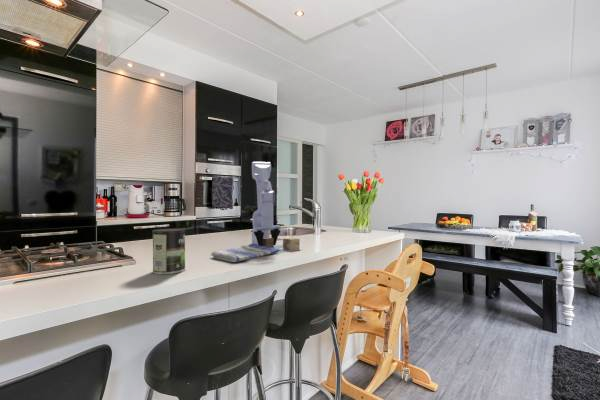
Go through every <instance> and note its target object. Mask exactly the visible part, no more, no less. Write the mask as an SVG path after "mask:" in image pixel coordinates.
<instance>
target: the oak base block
mask: <svg viewBox="0 0 600 400" xmlns="http://www.w3.org/2000/svg"><path fill="white" fill-rule="evenodd" d="M300 241H301V240H300V237H293V236H292V237H283V238H282V245H283V249H286V250H290V251H289V252H292V251H291V250H295V251H298V250H297V249H301V247H300V245H301V244H300Z"/></svg>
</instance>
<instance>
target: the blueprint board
mask: <svg viewBox="0 0 600 400" xmlns="http://www.w3.org/2000/svg"><path fill="white" fill-rule="evenodd" d="M274 248H275V249H278V250H279V251H278V252H276V253H275V254H282V253H289V252H294V251H301V250H303V248H300V249H297V250H291V251H290V250H286V249H283V244H280V245H274Z"/></svg>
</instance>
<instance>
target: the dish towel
mask: <svg viewBox="0 0 600 400" xmlns="http://www.w3.org/2000/svg"><path fill="white" fill-rule="evenodd" d="M278 251H279V250H278V249H275V248H272V247H266V246H259V245H256V244H253V243H251V244H247V245H241V246H240V247H235V248H229V249H224V250H220V251H216V250H214V251H213V252H211V253H210V256H212V257H213V259H218V260H221V261H226V262H230V263H231V262H232V263H238V262H241V261H246V260H251V259H256V258H260V257H265V256H268V255H269V256H270V255H271V254H272V255H273V254H277V253H276V252H278Z"/></svg>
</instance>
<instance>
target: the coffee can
mask: <svg viewBox="0 0 600 400" xmlns="http://www.w3.org/2000/svg"><path fill="white" fill-rule="evenodd" d="M151 232H152V274H154V275H172V274H173V275H174V274H179V273H182V272H184V271H186V228H179V227H174V228H157V229H153V230H151Z"/></svg>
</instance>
